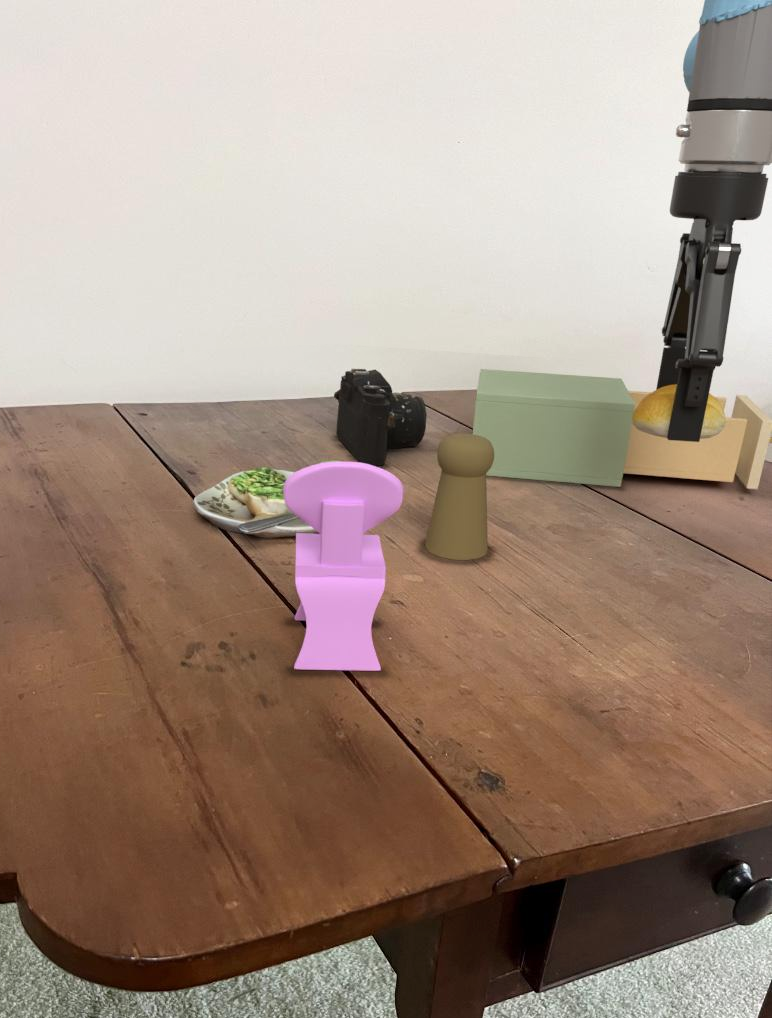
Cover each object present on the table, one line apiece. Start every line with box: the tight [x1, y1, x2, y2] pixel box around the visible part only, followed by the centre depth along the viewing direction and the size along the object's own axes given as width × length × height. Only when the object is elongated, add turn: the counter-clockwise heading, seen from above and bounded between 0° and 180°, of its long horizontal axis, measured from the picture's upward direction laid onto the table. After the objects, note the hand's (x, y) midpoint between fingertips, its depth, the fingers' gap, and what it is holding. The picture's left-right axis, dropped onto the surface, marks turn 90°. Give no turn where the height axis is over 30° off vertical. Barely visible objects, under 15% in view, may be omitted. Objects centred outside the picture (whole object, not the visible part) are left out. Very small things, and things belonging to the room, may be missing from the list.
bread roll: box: [632, 384, 726, 439], centre depth 87 cm, size 8×9×4 cm
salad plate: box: [193, 459, 346, 539], centre depth 94 cm, size 19×18×5 cm
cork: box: [424, 433, 494, 561], centre depth 86 cm, size 6×6×11 cm
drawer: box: [623, 390, 772, 490], centre depth 111 cm, size 22×14×8 cm, turn 79°
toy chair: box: [283, 461, 404, 672], centre depth 67 cm, size 8×9×15 cm
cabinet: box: [471, 368, 635, 488], centre depth 114 cm, size 18×15×10 cm
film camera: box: [333, 368, 428, 467], centre depth 118 cm, size 18×12×10 cm
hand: (674, 426), depth 88 cm, fingers closed on bread roll, 9 cm apart
